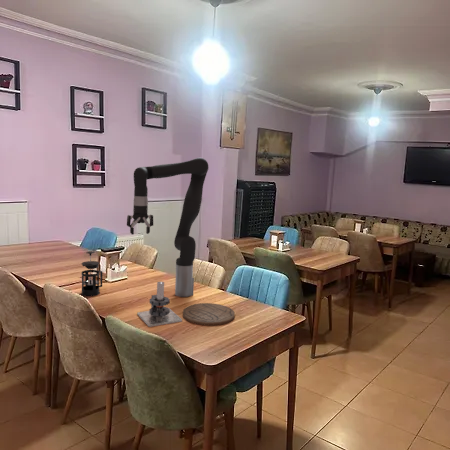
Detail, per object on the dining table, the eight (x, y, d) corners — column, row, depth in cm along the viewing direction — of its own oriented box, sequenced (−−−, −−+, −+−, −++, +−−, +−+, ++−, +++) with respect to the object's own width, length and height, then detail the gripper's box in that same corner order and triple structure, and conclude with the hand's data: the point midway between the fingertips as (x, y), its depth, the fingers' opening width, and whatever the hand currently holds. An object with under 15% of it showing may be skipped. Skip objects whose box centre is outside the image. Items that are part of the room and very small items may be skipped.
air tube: (161, 314, 193) (162, 281, 191) (164, 316, 190) (165, 283, 188) (154, 315, 191) (156, 281, 189) (157, 317, 188) (158, 283, 186)
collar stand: (168, 309, 202) (169, 292, 200) (182, 321, 188) (182, 302, 186) (137, 314, 194) (137, 296, 192) (148, 327, 180) (149, 307, 178)
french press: (84, 298, 212) (84, 254, 208) (77, 293, 219) (76, 251, 215) (105, 293, 220) (105, 252, 216) (97, 289, 227) (97, 248, 223)
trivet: (206, 303, 214) (206, 299, 214) (244, 316, 199) (245, 312, 199) (171, 315, 195) (171, 311, 195) (210, 331, 180) (211, 327, 179)
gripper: (150, 203, 227) (150, 232, 230) (125, 203, 220) (125, 233, 222) (155, 205, 221) (154, 234, 223) (129, 205, 214) (129, 235, 216)
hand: (140, 233), depth 223 cm, fingers open, 8 cm apart
